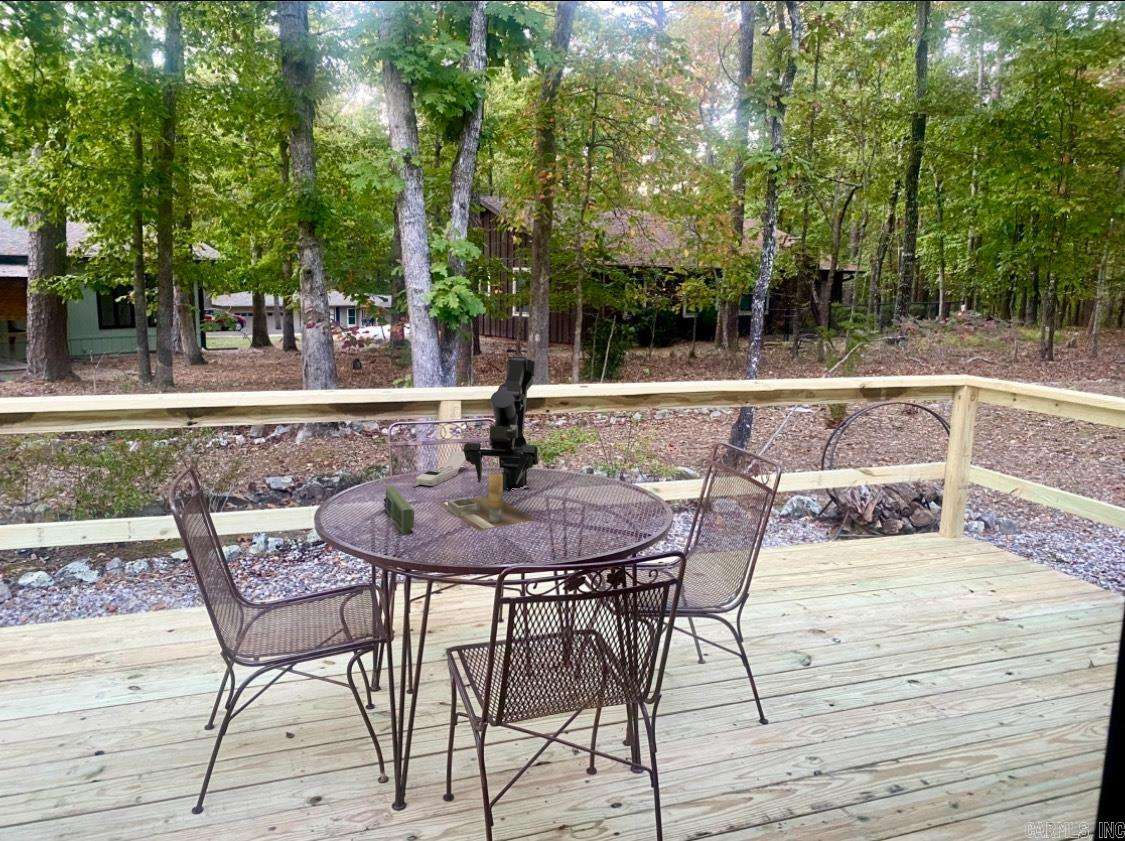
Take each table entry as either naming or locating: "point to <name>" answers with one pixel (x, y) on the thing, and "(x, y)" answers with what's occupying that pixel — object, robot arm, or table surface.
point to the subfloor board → (483, 512)
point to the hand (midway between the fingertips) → (497, 482)
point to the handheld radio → (399, 510)
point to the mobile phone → (442, 471)
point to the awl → (495, 496)
